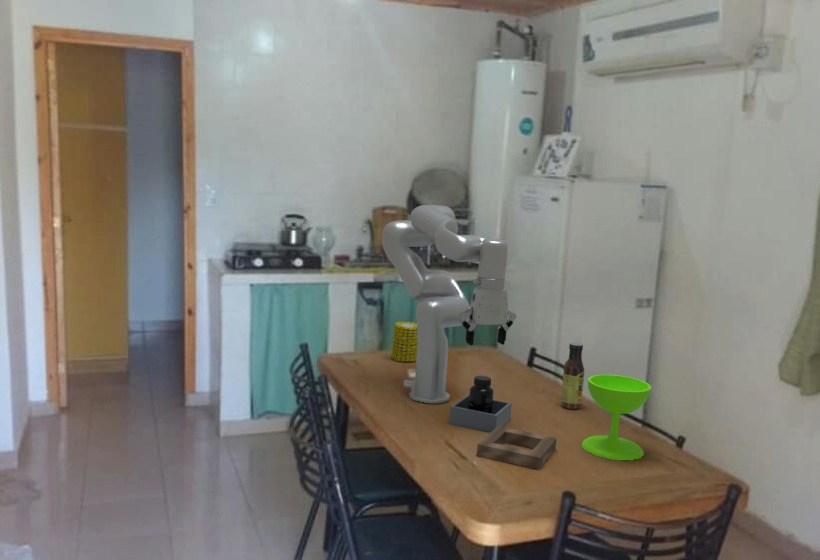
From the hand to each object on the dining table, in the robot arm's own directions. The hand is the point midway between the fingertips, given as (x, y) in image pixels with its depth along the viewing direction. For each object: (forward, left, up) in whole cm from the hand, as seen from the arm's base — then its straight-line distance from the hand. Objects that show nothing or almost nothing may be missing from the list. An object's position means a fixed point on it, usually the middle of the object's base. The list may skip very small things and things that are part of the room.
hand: (485, 343), depth 211 cm
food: (-47, +49, -23) cm, 71 cm away
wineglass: (+37, 0, -23) cm, 44 cm away
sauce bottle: (+19, +30, -23) cm, 42 cm away
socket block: (+16, -17, -23) cm, 33 cm away
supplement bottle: (0, 0, -22) cm, 22 cm away
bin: (0, 0, -23) cm, 23 cm away
